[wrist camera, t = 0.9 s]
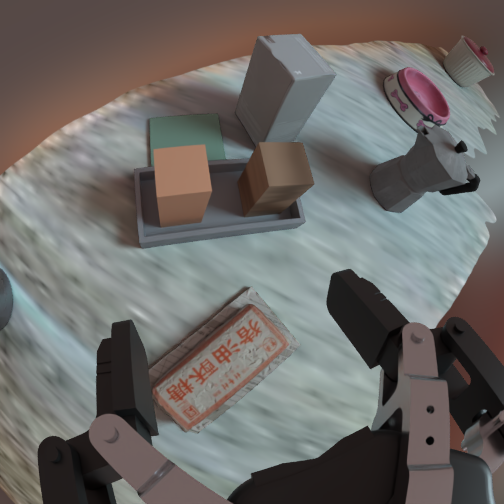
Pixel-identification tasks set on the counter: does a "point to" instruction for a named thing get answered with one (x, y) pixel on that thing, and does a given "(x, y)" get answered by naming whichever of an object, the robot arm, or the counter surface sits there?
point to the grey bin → (208, 210)
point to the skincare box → (281, 87)
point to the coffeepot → (423, 171)
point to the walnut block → (274, 178)
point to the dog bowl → (416, 99)
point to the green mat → (187, 134)
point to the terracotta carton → (182, 184)
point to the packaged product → (221, 362)
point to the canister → (468, 63)
